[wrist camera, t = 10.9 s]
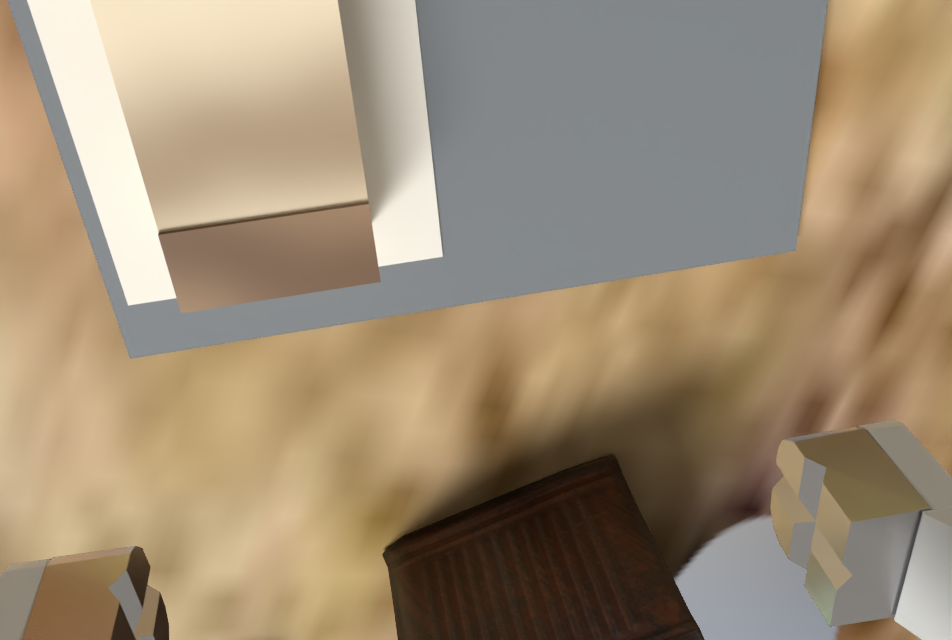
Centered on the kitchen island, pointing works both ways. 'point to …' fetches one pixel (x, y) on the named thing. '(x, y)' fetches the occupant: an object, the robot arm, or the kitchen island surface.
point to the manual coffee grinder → (540, 568)
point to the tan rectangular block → (244, 144)
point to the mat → (487, 151)
